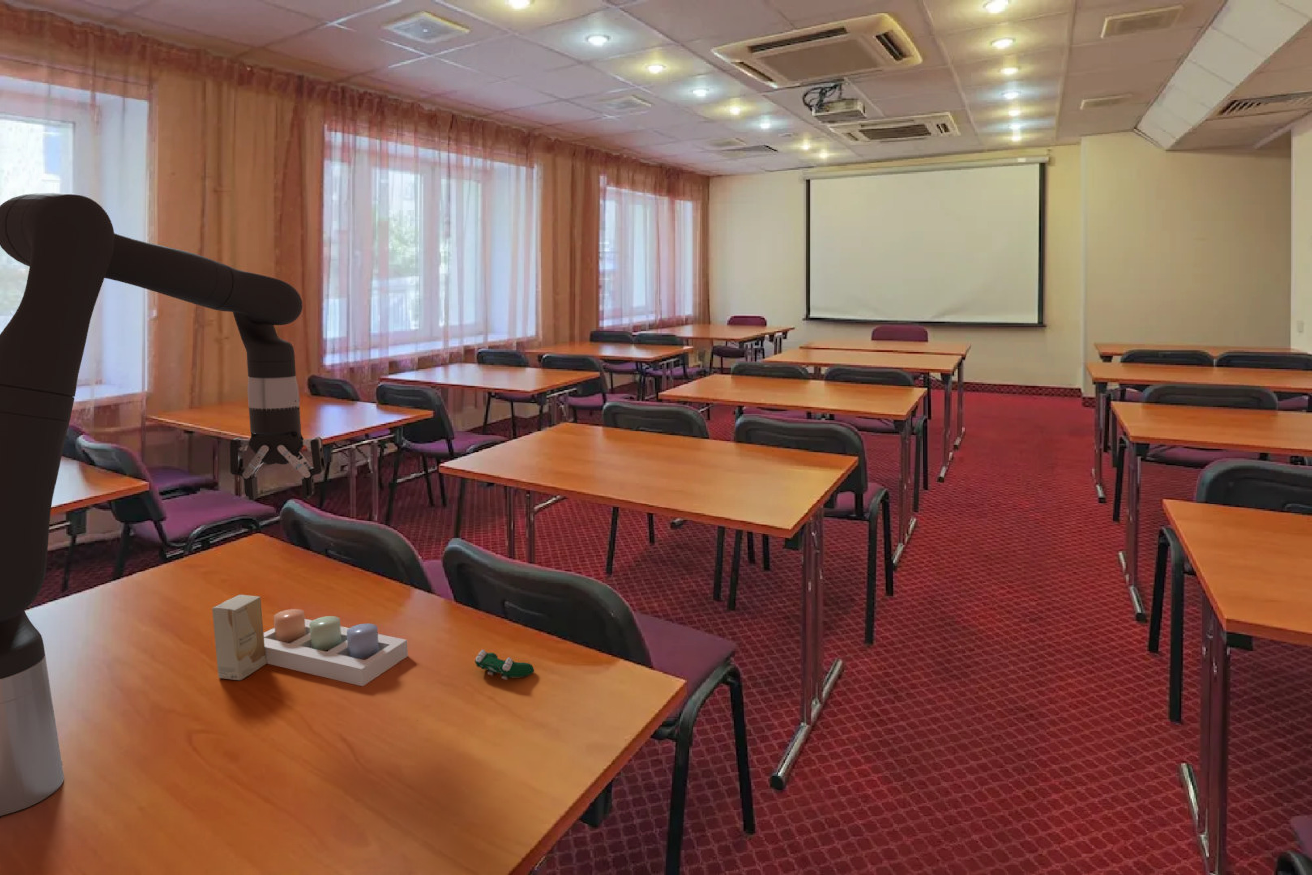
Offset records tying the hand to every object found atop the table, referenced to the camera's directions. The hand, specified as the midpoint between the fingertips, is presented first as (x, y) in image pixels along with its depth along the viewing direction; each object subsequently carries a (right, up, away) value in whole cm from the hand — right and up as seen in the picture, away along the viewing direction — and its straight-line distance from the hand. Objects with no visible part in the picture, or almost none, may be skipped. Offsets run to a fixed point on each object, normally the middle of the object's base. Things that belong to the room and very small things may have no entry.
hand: (280, 498), depth 127 cm
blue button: (+14, -26, -1) cm, 29 cm away
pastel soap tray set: (+7, -28, +3) cm, 29 cm away
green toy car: (+38, -29, -2) cm, 48 cm away
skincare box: (-5, -29, -2) cm, 29 cm away
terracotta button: (-1, -25, +5) cm, 25 cm away
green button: (+7, -25, +2) cm, 26 cm away
